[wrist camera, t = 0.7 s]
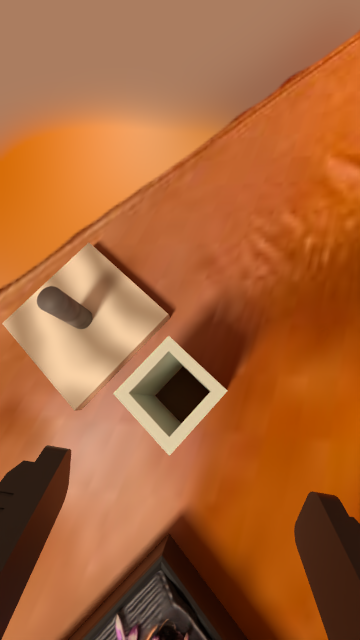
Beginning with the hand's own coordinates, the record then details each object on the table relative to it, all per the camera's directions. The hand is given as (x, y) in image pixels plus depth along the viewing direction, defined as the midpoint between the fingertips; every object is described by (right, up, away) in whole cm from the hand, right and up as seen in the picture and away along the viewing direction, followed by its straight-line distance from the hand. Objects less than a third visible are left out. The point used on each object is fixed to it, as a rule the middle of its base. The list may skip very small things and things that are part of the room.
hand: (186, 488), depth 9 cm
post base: (-12, +5, +26) cm, 29 cm away
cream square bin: (0, -3, +22) cm, 22 cm away
